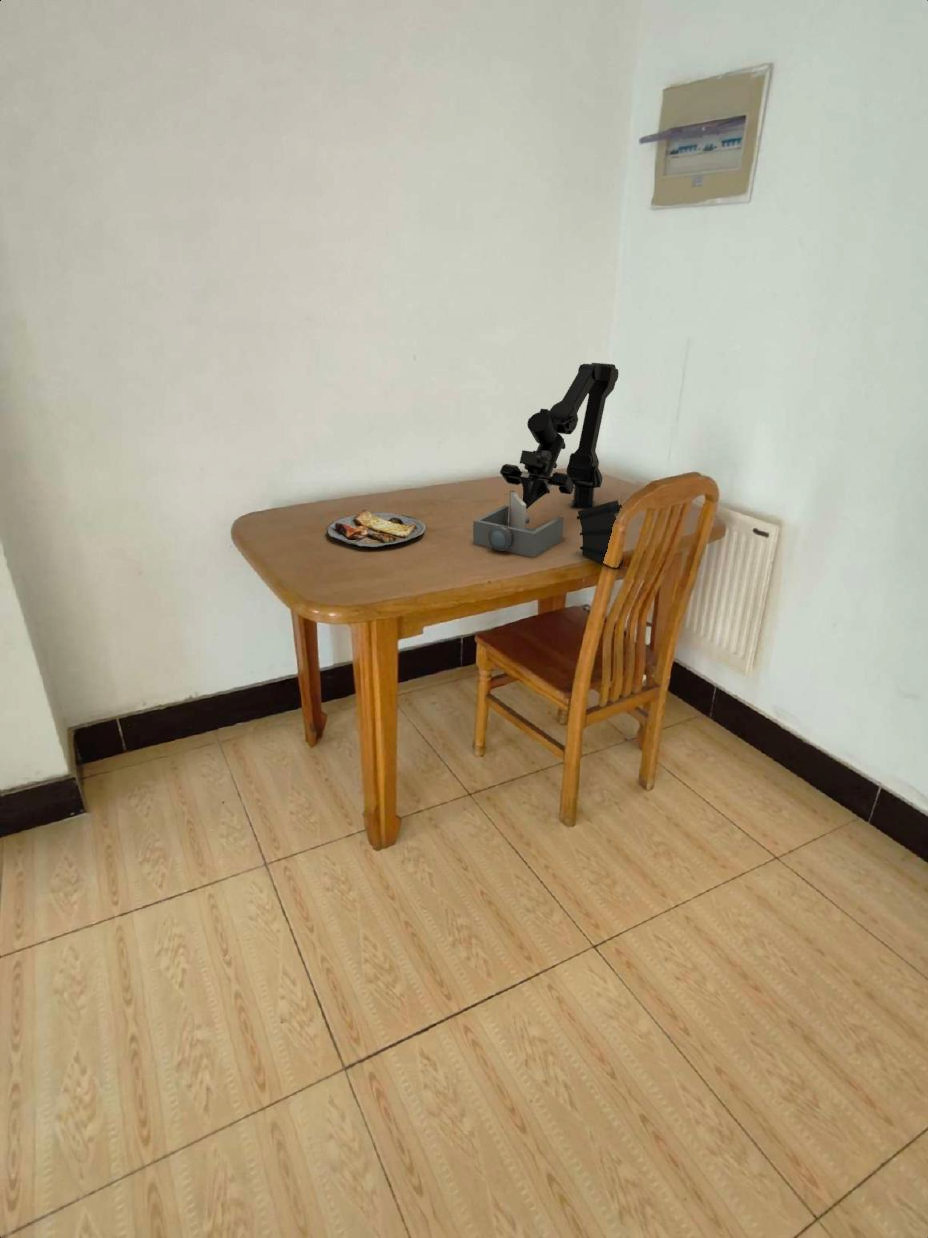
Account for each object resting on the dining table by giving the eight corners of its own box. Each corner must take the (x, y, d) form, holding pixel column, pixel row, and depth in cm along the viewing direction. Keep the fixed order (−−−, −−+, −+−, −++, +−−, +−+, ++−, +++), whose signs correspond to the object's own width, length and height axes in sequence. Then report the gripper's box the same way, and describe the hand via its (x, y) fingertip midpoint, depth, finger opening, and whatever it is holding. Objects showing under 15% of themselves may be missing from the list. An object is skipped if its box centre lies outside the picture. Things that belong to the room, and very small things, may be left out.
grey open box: (505, 526, 193) (505, 502, 190) (563, 538, 185) (564, 514, 182) (468, 546, 180) (468, 520, 177) (528, 560, 171) (529, 534, 168)
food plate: (309, 535, 186) (308, 522, 185) (372, 514, 203) (371, 502, 201) (380, 560, 173) (380, 546, 171) (441, 534, 190) (441, 522, 188)
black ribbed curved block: (624, 567, 163) (608, 502, 162) (585, 573, 174) (570, 513, 173) (635, 563, 165) (620, 499, 164) (596, 570, 176) (581, 510, 175)
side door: (508, 523, 191) (509, 490, 187) (517, 523, 192) (518, 490, 188) (520, 539, 180) (521, 505, 176) (529, 539, 180) (530, 504, 176)
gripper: (504, 432, 181) (480, 486, 178) (571, 441, 171) (547, 498, 168) (519, 455, 190) (496, 507, 187) (583, 466, 181) (561, 520, 178)
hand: (524, 508), depth 180 cm, fingers closed
